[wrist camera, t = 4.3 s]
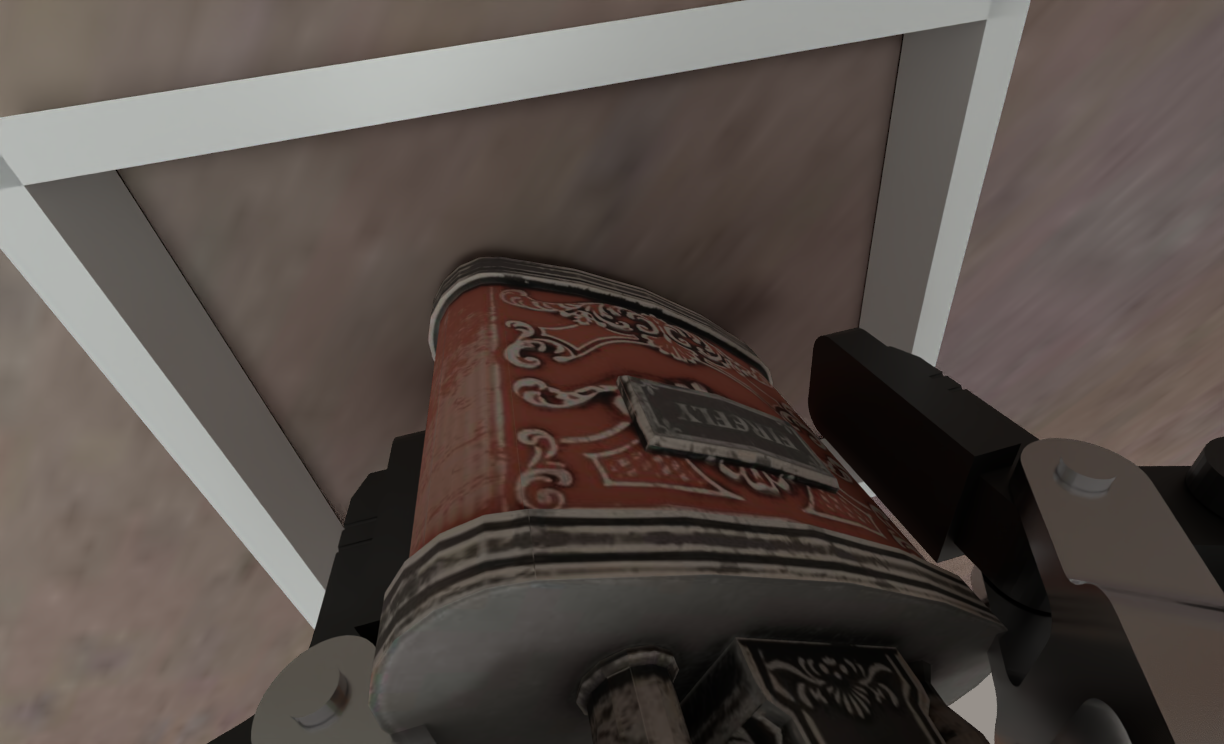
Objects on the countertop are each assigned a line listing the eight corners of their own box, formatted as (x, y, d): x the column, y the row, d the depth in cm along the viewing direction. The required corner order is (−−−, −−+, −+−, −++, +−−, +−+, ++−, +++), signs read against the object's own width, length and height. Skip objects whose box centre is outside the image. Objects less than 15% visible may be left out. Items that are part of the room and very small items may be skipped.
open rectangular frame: (949, -30, 10) (1042, -47, 8) (861, 445, 17) (903, 487, 15) (20, 115, 8) (-95, 133, 6) (349, 588, 15) (334, 654, 13)
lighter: (782, 340, 13) (1345, 872, 5) (715, 443, 14) (1051, 996, 6) (458, 220, 10) (355, 1275, 1) (412, 368, 11) (218, 1346, 3)
